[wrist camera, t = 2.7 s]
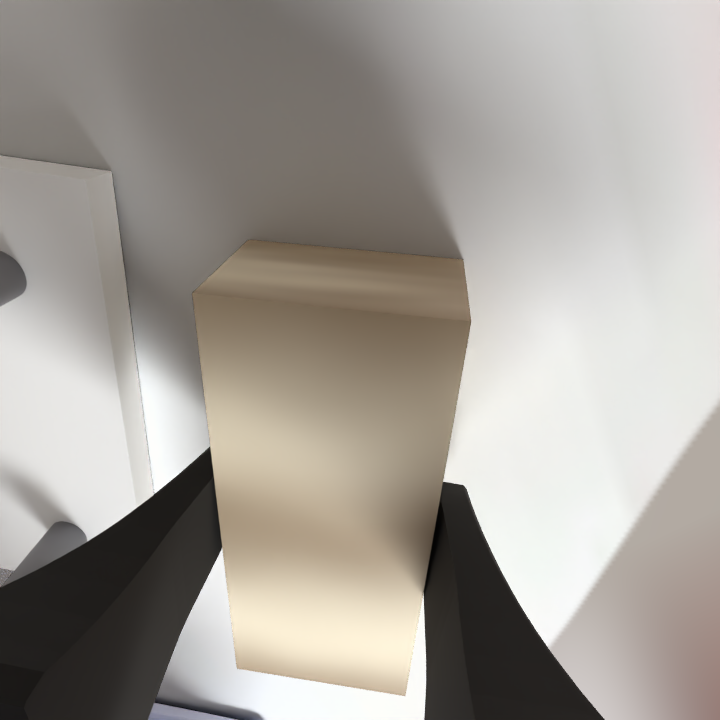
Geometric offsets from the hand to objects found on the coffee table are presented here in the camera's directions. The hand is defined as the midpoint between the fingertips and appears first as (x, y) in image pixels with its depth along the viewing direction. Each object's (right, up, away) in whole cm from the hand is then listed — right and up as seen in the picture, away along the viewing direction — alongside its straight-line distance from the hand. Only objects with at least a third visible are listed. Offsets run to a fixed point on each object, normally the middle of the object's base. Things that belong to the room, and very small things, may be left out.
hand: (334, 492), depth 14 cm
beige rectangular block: (0, +1, +2) cm, 2 cm away
